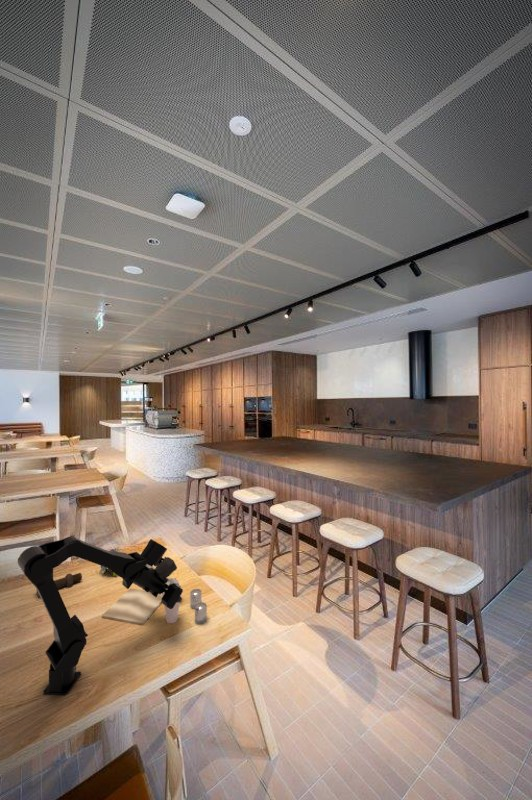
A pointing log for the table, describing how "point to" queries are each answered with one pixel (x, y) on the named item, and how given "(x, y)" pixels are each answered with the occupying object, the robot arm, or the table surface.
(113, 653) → the table surface
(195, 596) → the posts
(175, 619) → the smoothie
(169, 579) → the adjustable wrench
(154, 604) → the pad
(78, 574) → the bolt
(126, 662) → the table surface
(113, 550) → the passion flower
